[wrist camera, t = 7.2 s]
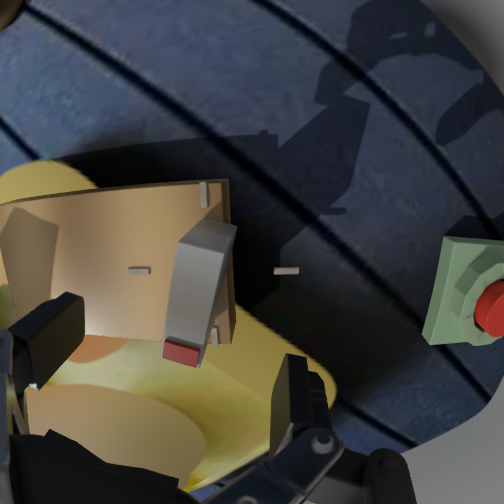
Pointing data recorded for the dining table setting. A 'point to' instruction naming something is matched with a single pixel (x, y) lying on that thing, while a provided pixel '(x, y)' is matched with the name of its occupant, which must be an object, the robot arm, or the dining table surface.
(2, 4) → the kendama
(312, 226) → the dining table surface
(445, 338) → the button box
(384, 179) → the dining table surface
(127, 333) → the panel
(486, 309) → the button
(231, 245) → the tap lever
